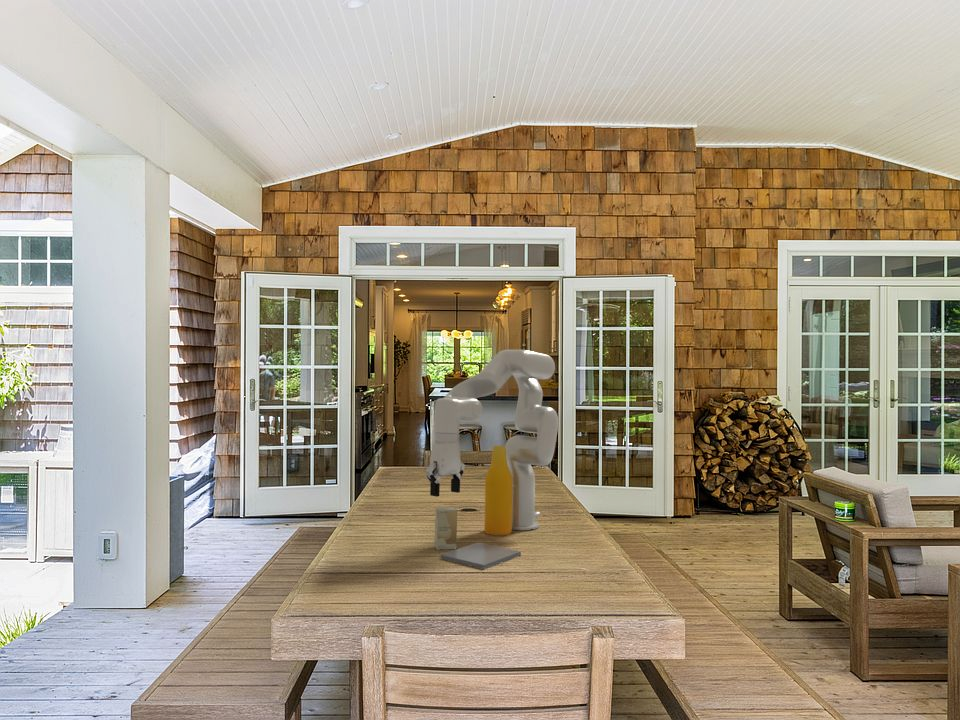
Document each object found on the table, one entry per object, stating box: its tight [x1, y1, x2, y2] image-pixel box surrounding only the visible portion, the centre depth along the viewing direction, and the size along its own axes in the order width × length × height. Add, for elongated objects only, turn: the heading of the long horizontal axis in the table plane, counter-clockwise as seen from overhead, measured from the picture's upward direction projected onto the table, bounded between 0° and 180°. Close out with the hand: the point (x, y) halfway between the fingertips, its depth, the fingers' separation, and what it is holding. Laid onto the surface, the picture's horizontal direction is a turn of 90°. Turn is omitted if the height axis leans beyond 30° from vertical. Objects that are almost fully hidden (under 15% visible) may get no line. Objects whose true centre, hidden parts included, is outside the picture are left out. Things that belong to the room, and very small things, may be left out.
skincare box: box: [433, 506, 458, 551], centre depth 217 cm, size 6×4×12 cm
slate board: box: [439, 542, 522, 570], centre depth 207 cm, size 18×16×1 cm
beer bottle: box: [483, 445, 513, 536], centre depth 236 cm, size 9×9×29 cm
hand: (445, 494), depth 216 cm, fingers open, 9 cm apart
